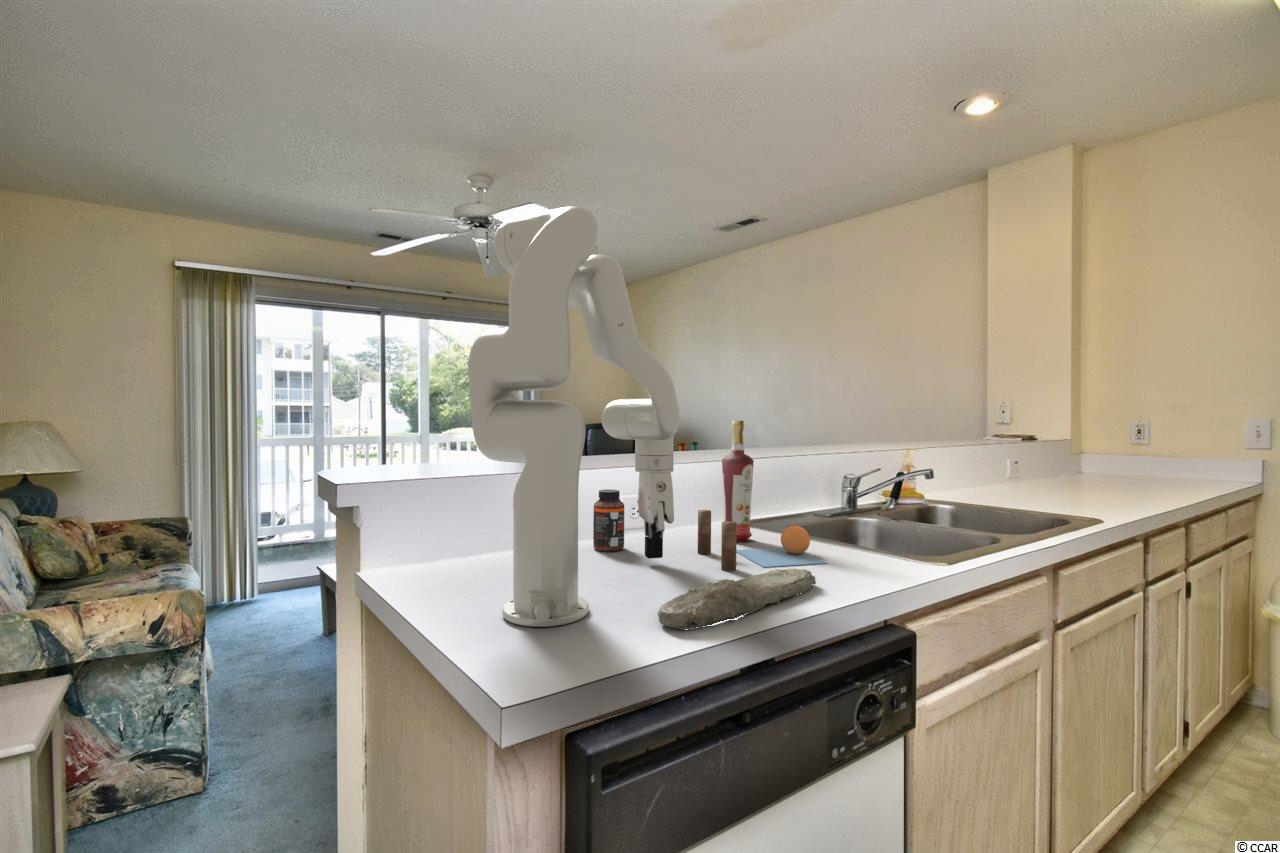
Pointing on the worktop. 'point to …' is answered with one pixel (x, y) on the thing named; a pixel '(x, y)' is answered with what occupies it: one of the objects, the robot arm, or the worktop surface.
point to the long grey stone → (733, 598)
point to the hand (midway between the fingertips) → (653, 557)
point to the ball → (795, 540)
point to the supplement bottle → (608, 522)
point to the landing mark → (778, 557)
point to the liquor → (738, 484)
